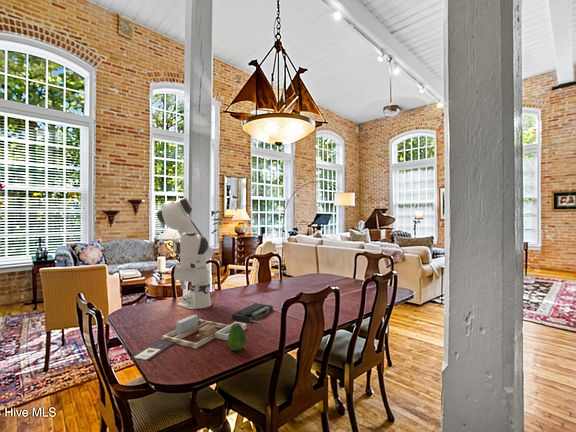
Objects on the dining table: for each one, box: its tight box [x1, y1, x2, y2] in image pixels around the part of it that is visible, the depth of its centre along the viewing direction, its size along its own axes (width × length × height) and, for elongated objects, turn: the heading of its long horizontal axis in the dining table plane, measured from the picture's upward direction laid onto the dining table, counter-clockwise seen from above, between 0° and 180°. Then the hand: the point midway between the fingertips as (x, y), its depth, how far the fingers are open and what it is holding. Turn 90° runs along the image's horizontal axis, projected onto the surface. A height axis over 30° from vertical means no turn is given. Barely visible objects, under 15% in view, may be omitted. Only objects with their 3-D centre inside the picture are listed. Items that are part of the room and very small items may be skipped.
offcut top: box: [198, 325, 216, 336], centre depth 152 cm, size 5×7×2 cm, turn 160°
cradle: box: [214, 321, 248, 341], centre depth 157 cm, size 7×17×2 cm, turn 154°
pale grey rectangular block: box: [175, 314, 199, 336], centre depth 158 cm, size 3×12×7 cm, turn 154°
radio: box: [231, 302, 274, 324], centre depth 184 cm, size 25×4×20 cm
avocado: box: [227, 323, 247, 352], centre depth 137 cm, size 8×8×12 cm
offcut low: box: [195, 329, 219, 341], centre depth 152 cm, size 5×10×2 cm, turn 154°
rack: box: [161, 318, 230, 350], centre depth 155 cm, size 21×26×2 cm
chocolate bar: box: [131, 339, 175, 361], centre depth 137 cm, size 9×1×18 cm
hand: (189, 290), depth 159 cm, fingers open, 8 cm apart
